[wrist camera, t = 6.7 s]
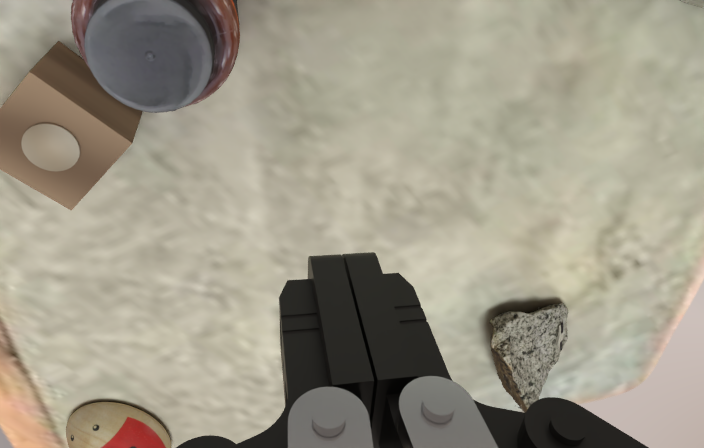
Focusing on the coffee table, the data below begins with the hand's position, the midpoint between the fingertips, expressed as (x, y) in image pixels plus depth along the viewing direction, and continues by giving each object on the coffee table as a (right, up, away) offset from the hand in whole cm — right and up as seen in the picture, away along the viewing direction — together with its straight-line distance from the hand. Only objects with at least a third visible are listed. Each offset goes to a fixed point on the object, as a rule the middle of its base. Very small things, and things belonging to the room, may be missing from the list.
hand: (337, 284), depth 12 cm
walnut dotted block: (-15, +8, +16) cm, 23 cm away
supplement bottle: (-9, +13, +14) cm, 21 cm away
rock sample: (+15, -8, +35) cm, 39 cm away
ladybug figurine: (-19, -16, +32) cm, 40 cm away
